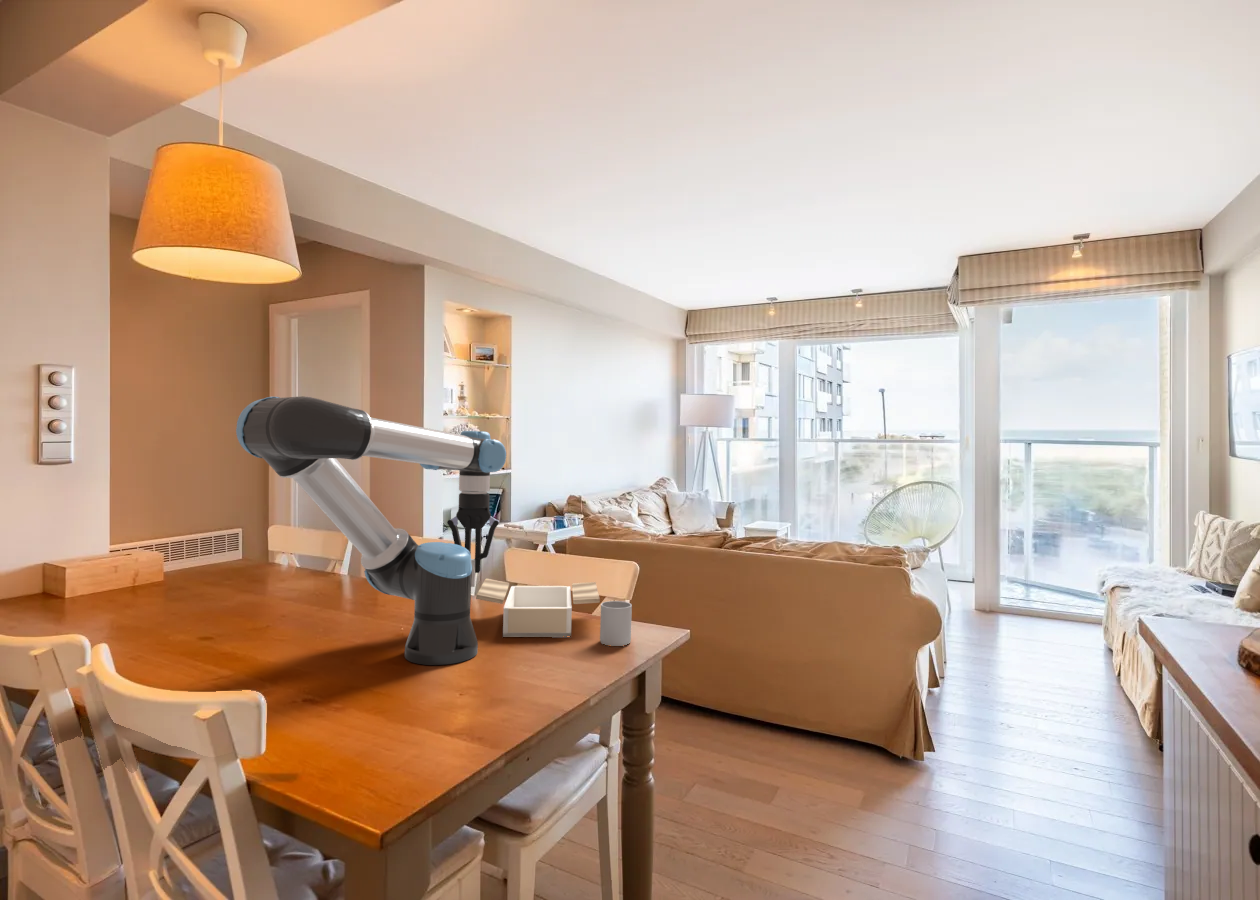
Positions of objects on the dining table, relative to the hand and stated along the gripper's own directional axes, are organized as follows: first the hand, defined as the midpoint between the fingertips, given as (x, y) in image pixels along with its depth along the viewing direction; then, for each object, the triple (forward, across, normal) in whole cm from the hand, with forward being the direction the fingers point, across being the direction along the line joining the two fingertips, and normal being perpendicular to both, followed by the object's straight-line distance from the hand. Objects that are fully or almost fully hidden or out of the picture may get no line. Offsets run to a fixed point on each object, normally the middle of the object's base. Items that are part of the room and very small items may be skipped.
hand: (472, 585), depth 167 cm
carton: (+10, -17, 0) cm, 19 cm away
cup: (+10, -36, +15) cm, 40 cm away
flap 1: (+1, -5, 0) cm, 6 cm away
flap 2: (+1, -28, 0) cm, 28 cm away
